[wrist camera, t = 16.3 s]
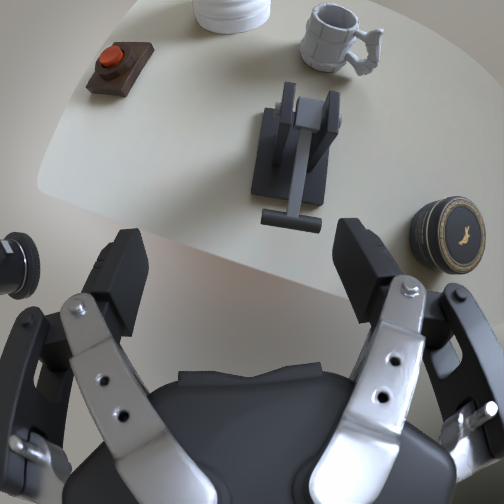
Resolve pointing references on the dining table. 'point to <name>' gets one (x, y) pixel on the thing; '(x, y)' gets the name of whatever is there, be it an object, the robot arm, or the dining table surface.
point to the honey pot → (231, 14)
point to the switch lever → (299, 170)
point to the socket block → (121, 70)
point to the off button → (111, 56)
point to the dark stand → (293, 149)
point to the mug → (338, 40)
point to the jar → (448, 235)
